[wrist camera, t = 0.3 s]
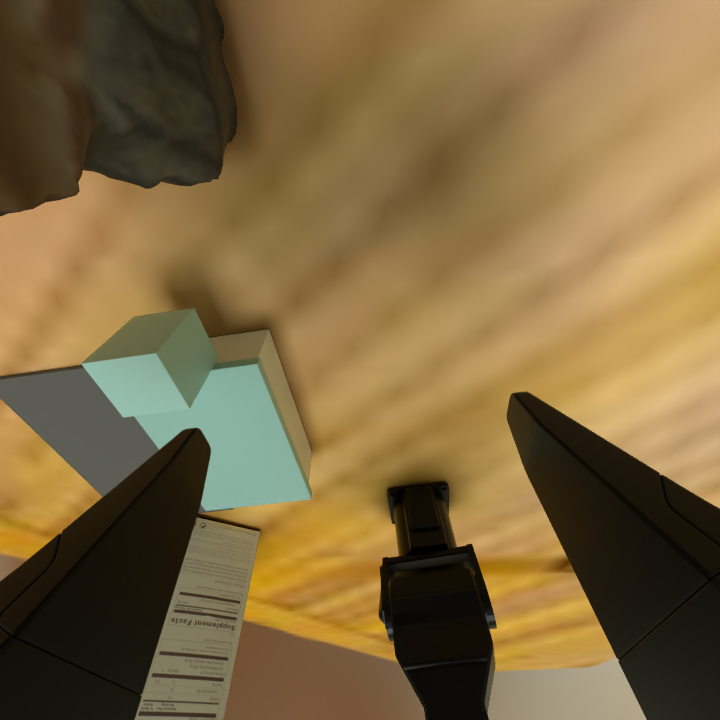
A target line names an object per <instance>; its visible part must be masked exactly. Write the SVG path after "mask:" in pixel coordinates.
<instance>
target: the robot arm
mask: <svg viewBox="0 0 720 720" xmlns="http://www.w3.org/2000/svg"><path fill="white" fill-rule="evenodd" d="M507 421H508V424H509V427H510V430H511V432H512V435H513V438H514V441H515V444H516V446H517V449H518V452H519V455H520V458H521V461H522V463H523V466H524V469H525V471H526V473H527V475H528V478H529V480H530V482H531V484H532V486H533V488H534V490H535V492H536V494H537V496H538V498H539V500H540V502H541V504H542V506H543V508H544V510H545V512H546V514H547V516H548V518H549V521H550V523H551V525H552V527H553V529H554V531H555V533H556V535H557V537H558V539H559V541H560V543H561V545H562V547H563V549H564V551H565V553H566V555H567V557H568V559H569V561H570V563H571V565H572V567H573V569H574V572H575V574H576V576H577V578H578V580H579V582H580V584H581V586H582V588H583V590H584V592H585V594H586V596H587V598H588V600H589V602H590V604H591V606H592V608H593V610H594V612H595V614H596V616H597V618H598V620H599V623H600V625H601V627H602V629H603V631H604V633H605V635H606V637H607V639H608V641H609V643H610V645H611V647H612V649H613V651H614V653H615V655H616V657H617V659H619V664H620V666H621V668H622V670H623V672H624V674H625V676H626V678H627V680H628V682H629V684H630V686H631V688H632V690H633V692H634V694H635V696H636V698H637V701H638V703H639V704H640V706H641V709H642V711H643V713H644V715H645V717H646V719H647V720H720V508H718V507H716V506H714V505H712V504H711V503H709V502H707V501H705V500H704V499H702V498H700V497H699V496H697V495H695V494H694V493H692V492H690V491H689V490H687V489H685V488H684V487H682V486H680V485H679V484H677V483H675V482H674V481H672V480H670V479H669V478H667V477H666V476H664V475H661V476H660V473H659V472H657V471H656V470H654V469H652V468H651V467H649V466H647V465H646V464H644V463H643V462H641V461H639V460H638V459H636V458H634V457H633V456H631V455H630V454H628V453H626V452H625V451H623V450H621V449H620V448H618V447H617V446H615V445H613V444H612V443H610V442H608V441H607V440H605V439H604V438H602V437H600V436H599V435H597V434H595V433H594V432H592V431H591V430H589V429H587V428H586V427H584V426H582V425H581V424H579V423H578V422H576V421H574V420H573V419H571V418H569V417H568V416H566V415H565V414H563V413H561V412H560V411H558V410H556V409H555V408H553V407H552V406H550V405H548V404H547V403H545V402H543V401H542V400H540V399H539V398H537V397H535V396H534V395H532V394H530V393H529V392H516V393H512V394H511V396H510V400H509V405H508V410H507ZM210 456H211V447H210V445H209V443H208V441H207V439H206V438H205V436H204V434H203V432H202V431H201V429H199V428H189V429H184V430H182V431H181V432H180V433H179V434H177V435H176V436H175V437H174V438H173V439H172V440H170V441H169V442H168V443H167V444H166V445H164V446H163V447H162V448H161V449H160V450H158V451H157V452H156V453H155V454H154V455H152V456H151V457H150V458H149V459H148V460H146V461H145V462H144V463H143V464H142V465H141V466H139V467H138V468H137V469H136V470H135V471H133V472H132V473H131V474H130V475H129V476H127V477H126V478H125V479H124V480H123V481H121V482H120V483H119V484H118V485H117V486H115V487H114V488H113V489H112V490H111V491H110V492H108V493H107V494H106V495H105V496H104V497H102V498H101V499H100V500H99V501H98V502H96V503H95V504H94V505H93V506H92V507H90V508H89V509H88V510H87V511H86V512H84V513H83V514H82V515H81V516H80V517H78V518H77V519H76V520H75V521H74V522H73V523H71V524H70V525H69V526H68V527H67V528H65V529H64V530H63V531H62V534H58V535H57V536H56V537H55V538H53V539H52V540H51V541H50V542H49V543H47V544H46V545H45V546H44V547H43V548H41V549H40V550H39V551H38V552H37V553H35V554H34V555H33V556H32V557H30V558H29V559H28V560H27V561H26V562H24V563H23V564H22V565H21V566H20V567H18V568H17V569H16V570H14V571H13V572H12V573H10V574H9V575H8V576H7V577H5V578H4V579H3V580H1V581H0V720H135V717H136V714H137V711H138V707H139V704H140V701H141V698H142V696H141V694H142V693H143V690H144V687H145V684H146V681H147V677H148V674H149V671H150V668H151V664H152V661H153V658H154V655H155V651H156V648H157V645H158V642H159V638H160V635H161V632H162V629H163V625H164V622H165V619H166V616H167V612H168V609H169V606H170V603H171V600H172V596H173V593H174V590H175V587H176V583H177V580H178V577H179V574H180V570H181V567H182V564H183V561H184V557H185V554H186V551H187V548H188V544H189V541H190V538H191V535H192V531H193V528H194V525H195V522H196V518H197V515H198V512H199V508H200V505H201V501H202V497H203V492H204V487H205V482H206V476H207V471H208V466H209V461H210ZM387 496H388V502H389V508H390V514H391V520H392V523H393V524H395V527H396V535H397V543H398V552H399V556H398V557H391V558H388V557H384V558H383V565H382V566H381V567H380V576H381V593H380V604H379V618H380V620H381V621H382V622H383V623H384V624H385V628H386V630H387V634H388V637H389V640H390V641H394V647H395V655H396V658H397V660H398V662H399V664H400V665H401V667H402V669H403V671H404V673H405V675H406V676H407V678H408V680H409V682H410V684H411V685H412V687H413V689H414V691H415V693H416V695H417V696H418V698H419V700H420V702H421V704H422V705H423V707H424V711H425V718H426V720H489V719H488V715H487V712H488V706H489V700H490V694H491V688H492V683H493V677H494V671H495V657H494V648H493V641H492V638H491V634H490V630H489V629H495V628H497V627H496V621H495V617H494V613H493V609H492V605H491V602H490V598H489V595H488V591H487V588H486V585H485V582H484V579H483V576H482V573H481V570H480V567H479V564H478V561H477V558H476V555H475V552H474V549H473V546H472V544H467V545H466V546H461V547H457V545H456V541H455V538H454V534H453V530H452V526H451V522H450V519H449V486H448V483H446V482H443V483H434V484H425V485H416V486H407V487H398V488H390V489H388V490H387Z"/></svg>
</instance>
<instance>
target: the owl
mask: <svg viewBox="0 0 720 720" xmlns="http://www.w3.org/2000/svg"><path fill="white" fill-rule="evenodd" d="M223 35H224V27H223V23H222V19H221V17H220V14H219V12H218V10H217V8H216V5H215V3H214V0H0V216H3V215H5V214H8V213H15V212H21V211H24V210H30V209H34V208H35V207H37V206H39V205H41V204H43V203H45V202H49V201H55V200H61V199H65V198H68V197H72V196H75V195H77V194H78V192H79V185H78V181H79V180H80V178H81V175H82V171H83V170H87V171H94V172H97V173H101V174H103V175H105V176H107V177H109V178H112V179H116V180H121V181H125V182H128V183H132V184H135V185H139V186H141V187H143V188H147V189H149V188H152V187H154V186H156V185H158V184H159V183H160V182H165V183H170V184H175V185H180V186H192V185H195V184H198V183H203V182H211V180H212V179H218V178H219V175H220V174H221V170H222V167H223V155H224V150H225V147H226V145H227V143H228V142H231V141H232V139H233V137H234V135H235V132H236V126H237V108H236V103H235V98H234V93H233V89H232V84H231V81H230V78H229V75H228V73H227V70H226V68H225V66H224V62H223V58H222V53H221V49H220V47H221V43H222V41H223Z"/></svg>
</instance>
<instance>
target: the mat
mask: <svg viewBox="0 0 720 720" xmlns="http://www.w3.org/2000/svg"><path fill="white" fill-rule="evenodd" d="M0 398H1V399H2V400H3V401H4V402H5V403H6V404H7V405H8V406H9V407H10V408H11V409H12V410H13V411H14V412H15V413H16V414H17V415H18V416H19V417H20V418H21V419H23V420H24V421H25V422H26V423H27V424H28V425H29V426H30V427H31V428H32V429H33V430H34V431H35V432H36V433H37V434H38V435H39V436H40V437H41V438H42V439H43V440H44V441H45V442H46V443H48V444H49V445H50V446H51V447H52V448H53V449H54V450H55V451H56V452H57V453H58V454H59V455H60V456H61V457H62V458H63V459H64V460H65V461H66V462H67V463H68V464H69V465H70V466H71V467H73V468H74V469H75V470H76V471H77V472H78V473H79V474H80V475H81V476H82V477H83V478H84V479H85V480H86V481H87V482H88V483H89V484H90V485H91V486H92V487H93V488H94V489H95V490H96V491H98V492H99V493H100V494H101V495H102V496H103V497H104V496H105V495H106V494H107V493H108V492H110V491H111V490H112V489H113V488H114V487H115V486H117V485H118V484H119V483H120V482H121V481H123V480H124V479H125V478H126V477H127V476H129V475H130V474H131V473H132V472H133V471H135V470H136V469H137V468H138V467H139V466H141V465H142V464H143V463H144V462H145V461H146V460H148V459H149V458H150V457H151V456H152V455H154V454H155V453H156V452H157V451H158V450H159V449H158V447H157V446H156V445H155V443H154V442H153V441H152V439H151V438H150V437H149V435H148V434H147V433H146V431H145V430H144V429H143V427H142V426H141V425H140V424H139V422H138V421H137V420H136V418H135V417H134V416H131V417H124V418H123V417H122V415H121V414H120V413H119V411H118V410H117V409H116V408H115V406H114V405H113V404H112V403H111V401H110V400H109V399H108V397H107V396H106V395H105V394H104V392H103V391H102V390H101V389H100V387H99V386H98V385H97V383H96V382H95V381H94V380H93V378H92V377H91V376H90V375H89V373H88V372H87V371H86V369H85V368H84V367H83V366H75V367H68V368H61V369H54V370H47V371H40V372H33V373H26V374H19V375H12V376H5V377H0ZM231 509H234V508H228V509H219V510H210V511H205V509H204V508H203V507H202V505H200V508H199V512H198V513H204V512H213V511H222V510H231Z"/></svg>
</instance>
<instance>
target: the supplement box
mask: <svg viewBox="0 0 720 720" xmlns="http://www.w3.org/2000/svg"><path fill="white" fill-rule="evenodd" d="M259 536H260V532H259V531H254V530H250V529H246V528H241V527H237V526H232V525H228V524H224V523H219V522H215V521H211V520H206V519H202V518H196V522H195V525H194V528H193V531H192V535H191V538H190V541H189V544H188V548H187V551H186V554H185V557H184V561H183V564H182V567H181V570H180V574H179V577H178V580H177V583H176V587H175V590H174V593H173V596H172V600H171V603H170V606H169V609H168V612H167V616H166V619H165V622H164V625H163V629H162V632H161V635H160V638H159V642H158V645H157V648H156V651H155V655H154V658H153V661H152V664H151V668H150V671H149V674H148V677H147V681H146V684H145V687H144V690H143V693H142V694H141V696H142V698H141V701H140V704H139V707H138V711H137V714H136V717H135V720H223V717H224V712H225V707H226V701H227V697H228V692H229V687H230V682H231V677H232V672H233V667H234V662H235V657H236V652H237V647H238V642H239V637H240V632H241V626H242V622H243V616H244V612H245V607H246V602H247V596H248V592H249V587H250V582H251V577H252V572H253V567H254V561H255V556H256V551H257V546H258V541H259Z"/></svg>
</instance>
